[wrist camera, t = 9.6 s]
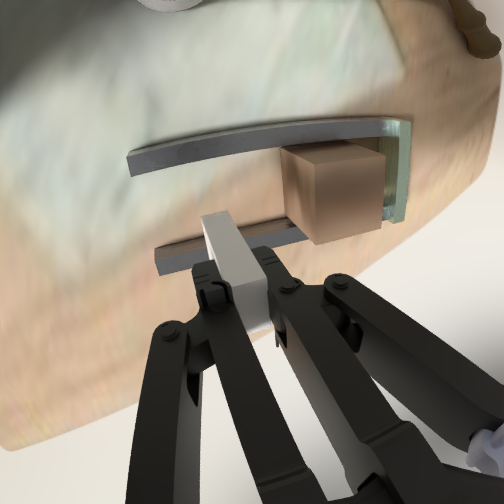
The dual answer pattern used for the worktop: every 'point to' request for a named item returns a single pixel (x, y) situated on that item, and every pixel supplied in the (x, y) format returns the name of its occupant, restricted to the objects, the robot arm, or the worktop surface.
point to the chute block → (333, 189)
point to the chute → (268, 136)
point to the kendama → (475, 30)
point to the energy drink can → (169, 4)
